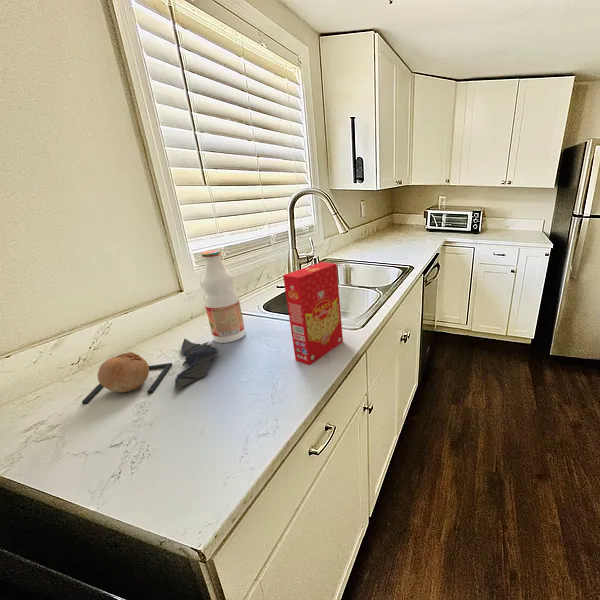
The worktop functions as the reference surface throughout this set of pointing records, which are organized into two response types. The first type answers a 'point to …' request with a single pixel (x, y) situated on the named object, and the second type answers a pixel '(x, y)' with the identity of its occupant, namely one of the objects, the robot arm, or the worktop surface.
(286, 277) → the food packaging
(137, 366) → the onion
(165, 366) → the frame
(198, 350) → the decorative bat
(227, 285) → the fruit juice
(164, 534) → the worktop surface
